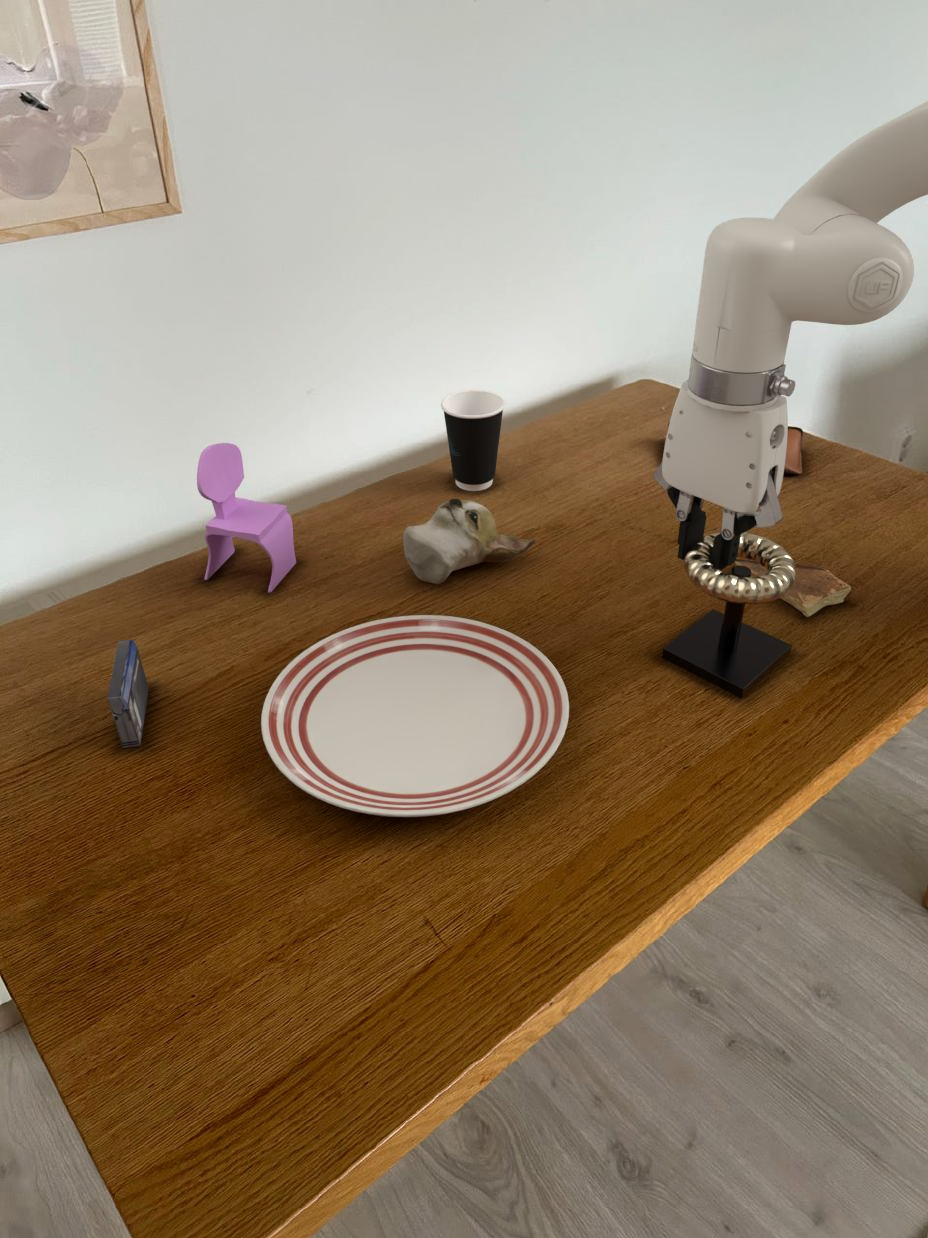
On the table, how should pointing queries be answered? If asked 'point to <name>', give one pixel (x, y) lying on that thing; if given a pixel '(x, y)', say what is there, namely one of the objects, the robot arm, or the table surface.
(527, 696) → the dinner plate
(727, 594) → the ribbed metal ring
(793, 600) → the shard
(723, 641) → the stand
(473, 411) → the dixie cup
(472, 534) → the ceramic sculpture
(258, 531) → the toy chair
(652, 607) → the table surface
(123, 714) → the mini dv tape
